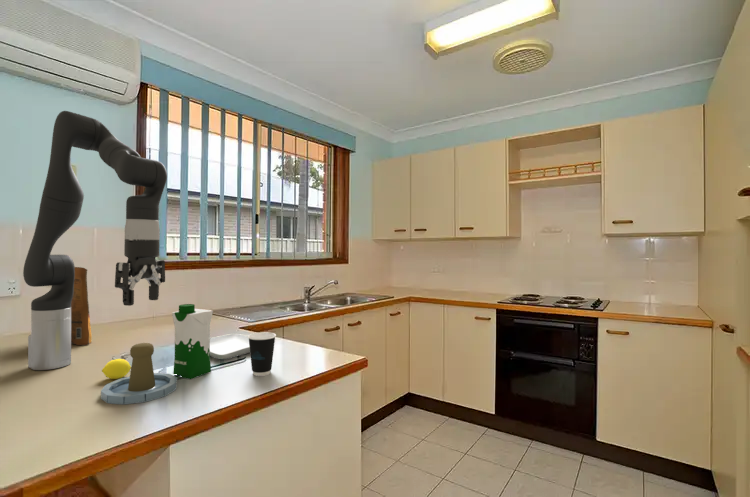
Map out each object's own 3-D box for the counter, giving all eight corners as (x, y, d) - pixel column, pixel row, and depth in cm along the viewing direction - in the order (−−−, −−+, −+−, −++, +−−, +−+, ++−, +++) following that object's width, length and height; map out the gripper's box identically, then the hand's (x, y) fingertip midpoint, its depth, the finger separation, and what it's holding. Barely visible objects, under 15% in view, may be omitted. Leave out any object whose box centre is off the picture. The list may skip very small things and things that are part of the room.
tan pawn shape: (142, 392, 95) (142, 347, 94) (121, 390, 96) (122, 346, 96) (161, 383, 101) (161, 341, 100) (141, 381, 102) (141, 340, 102)
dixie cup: (249, 379, 107) (249, 339, 107) (245, 370, 114) (246, 333, 114) (278, 375, 110) (278, 337, 110) (273, 367, 118) (273, 331, 117)
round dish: (84, 401, 91) (84, 393, 91) (135, 378, 107) (135, 371, 107) (146, 406, 89) (147, 398, 89) (189, 381, 105) (189, 375, 105)
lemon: (125, 375, 111) (128, 356, 111) (133, 379, 107) (136, 359, 108) (96, 378, 105) (100, 358, 106) (103, 383, 102) (107, 362, 102)
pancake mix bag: (75, 348, 135) (76, 268, 135) (55, 340, 146) (55, 265, 145) (98, 344, 141) (98, 267, 140) (76, 336, 151) (77, 264, 151)
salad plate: (273, 349, 138) (273, 340, 138) (221, 365, 120) (221, 354, 120) (234, 340, 150) (234, 332, 150) (182, 353, 132) (182, 343, 132)
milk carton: (167, 376, 109) (168, 305, 108) (195, 367, 117) (195, 300, 117) (190, 381, 105) (190, 307, 105) (216, 371, 113) (217, 303, 113)
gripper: (149, 238, 105) (148, 298, 105) (105, 237, 91) (104, 306, 91) (174, 238, 104) (173, 299, 104) (134, 238, 90) (133, 308, 90)
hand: (141, 302), depth 97 cm, fingers open, 8 cm apart
